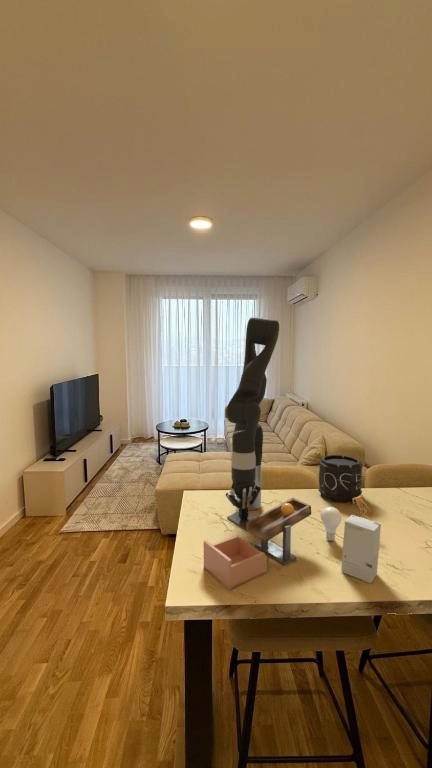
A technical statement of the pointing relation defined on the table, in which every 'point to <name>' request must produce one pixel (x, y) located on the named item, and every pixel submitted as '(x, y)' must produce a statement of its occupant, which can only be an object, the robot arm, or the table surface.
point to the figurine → (361, 506)
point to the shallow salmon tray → (234, 561)
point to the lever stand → (279, 548)
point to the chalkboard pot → (340, 478)
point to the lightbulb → (330, 521)
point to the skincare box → (361, 548)
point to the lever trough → (271, 520)
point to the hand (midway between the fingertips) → (243, 518)
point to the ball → (287, 509)
